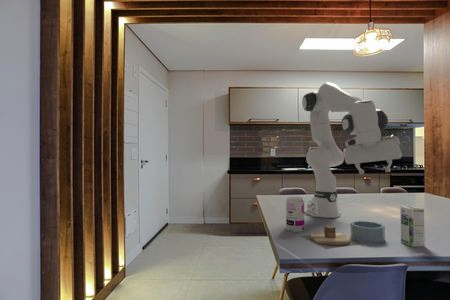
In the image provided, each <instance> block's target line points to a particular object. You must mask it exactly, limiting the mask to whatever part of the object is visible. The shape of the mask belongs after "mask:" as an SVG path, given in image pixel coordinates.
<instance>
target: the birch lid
mask: <svg viewBox="0 0 450 300" xmlns="http://www.w3.org/2000/svg"><path fill="white" fill-rule="evenodd" d="M323 227H324V228H323V229H324V231H316V232H312V233H311V234H310V235H311V240H313V241H314V242H317V243H320V244H324V245H331V246H342V245H347V244H349V243H350V239H351V238H350V237H351V236H348V235H346V234H344V233H340V232H336V227H335V226H332V225H325V226H323Z"/></svg>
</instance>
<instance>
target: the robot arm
mask: <svg viewBox="0 0 450 300" xmlns="http://www.w3.org/2000/svg"><path fill="white" fill-rule="evenodd" d="M301 104H302V108H303V109H304V111H305V112H310V113H309V126H310V132H311V138H312V141H313V142H314V143H316V145H317V146H318V147H316V148H312V149H310V150H308V151H307V153H306V155H305V160H306V163H307V164H308V165H309V166H310V167H311V169H312V171H313V174H314V177H315V191H313V194H314V195H313V197H312V198H311V199H310V200H309V201H308V202H307V205H306V206H307V208H304V214H307V215H309V216H310V217H315V218H316V217H318V218H331V219H332V218H339V217H340V215H341V212H340V207H339V199H337V198H338V191H337V178H336V176H335V175H334V174H333V172H332V170H331V168H332V167H337V166H340V165H342V164H343V163H344V162H345V163H346V164H347V165H351V164H353V165H354V166H355V167H356V169H357V170H358V173H359V175H364V174H365V170H364V169H362V168H361V164H364V163H373V162H380V161H386V163H387V167H384V170H385V173H390V172H391V166H392V164H393V160H399V159H401V158H402V156H403V154H402V151H401V148H400V145H401V140H400V137H399V136H396V135H394V134H392V135H389V136H382V134H381V133H382V132H383V131H384V130H385V129H386V128H387V126H388V125H389V119H388V117H389V116H388V115H387V114H386V113H385V112H384V110H382V109H377V108H376V105H375V102H374V101H373V100H370V99H369V100H368V99H367V100H363V99H360V98H359V97H357V96H354V95H352V94H350V93H347V92H345V91H344V90H342V89H341V88H340V87H339V86H338V85H336V84H334V83H332V82H325V83H323V84H322V85H320V86H319V89H318V91H314V92H313V91H312V92H308V93H306V94H304V95H303V96H302V100H301ZM330 112H331V113H346V112H347V114H345V115H344V116H343V117H342V118H341V121H340V122H341V123H340V124H341V129H342V131H343V132H344V133H345V134H346V135H348V136H353V135H355V136H353V138H350V139H349V140H348V139H347V140H346V141H345V144H344V145H345V149H344V152H343V151H342V150H341V149H340V148H339V147H338V145H337V143H336V142H335V138H334V137H333V132H332V128H331V127H332V126H331V123H330V119H329V113H330Z"/></svg>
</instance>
